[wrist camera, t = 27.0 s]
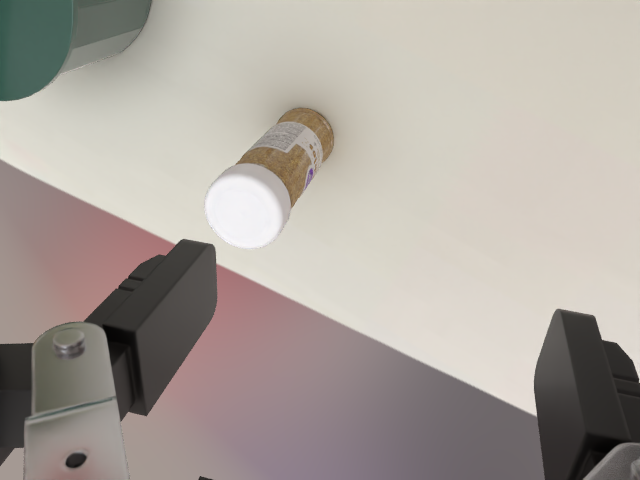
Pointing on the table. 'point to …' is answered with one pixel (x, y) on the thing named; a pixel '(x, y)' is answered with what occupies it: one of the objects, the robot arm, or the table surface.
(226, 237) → the sprinkles bottle
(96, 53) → the pot
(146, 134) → the table surface
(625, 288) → the table surface
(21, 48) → the lid
